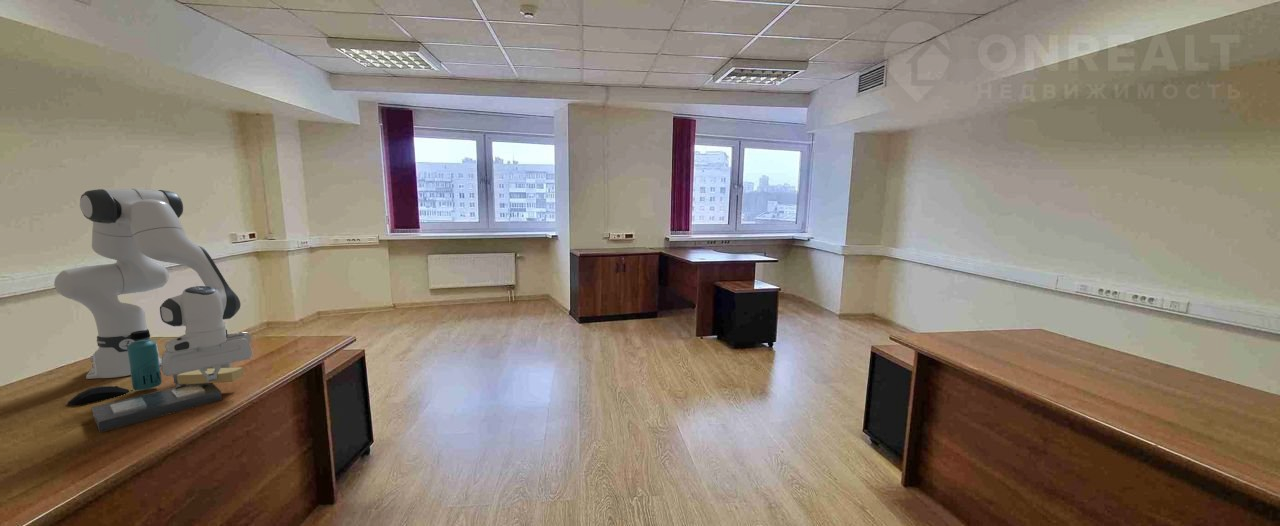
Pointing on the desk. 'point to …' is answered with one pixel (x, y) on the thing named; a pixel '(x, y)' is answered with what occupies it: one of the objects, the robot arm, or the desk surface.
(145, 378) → the beverage bottle
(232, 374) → the beige block
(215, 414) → the desk surface
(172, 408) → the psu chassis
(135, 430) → the desk surface
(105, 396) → the gaming mouse
